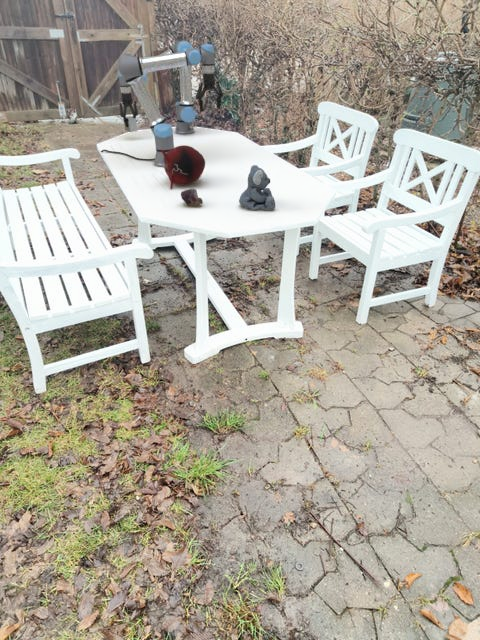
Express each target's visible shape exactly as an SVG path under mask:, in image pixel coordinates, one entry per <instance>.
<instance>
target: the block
mask: <svg viewBox="0 0 480 640" xmlns="http://www.w3.org/2000/svg"><path fill="white" fill-rule="evenodd" d="M126 118H127V124H128V127H125V122H124V121H123V124H124V125H123V126H124V130H125V131H126V132H129V133H134V132H135V133H136V132H138V125H137V117H136V118H134V117H132V115H130V116H126Z"/></svg>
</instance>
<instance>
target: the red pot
mask: <svg viewBox="0 0 480 640" xmlns="http://www.w3.org/2000/svg"><path fill="white" fill-rule="evenodd" d="M161 152H162V153H163V155H164V161H165V165H164V167H163V168H164V172H165V174H166V176H167V177H168V180H169V182H170V186H169V187H170V189H171V190H172V188H173V186H174V185H177V186H178V185H180V186H188V185H192V184H194V183H196V182H197V181H198V180H199V179H200V178H201V176H202V175H203V172H204V170H205V168H206V160H205V158H204V156H203V155H202V153H201V152H200V151H198V150H197V149H196V148H194V147H193V146H190V145H178V146H174V148H173V149H172V150H170V151H168V152H167V154H166V153H165V152H164V151H163V150H162V149H161Z"/></svg>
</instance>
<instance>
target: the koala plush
mask: <svg viewBox="0 0 480 640" xmlns="http://www.w3.org/2000/svg"><path fill="white" fill-rule="evenodd" d="M270 183H271V178H269V176H268V175H267V173H266V172H265V170H264V169H263V168H261V167H259V165H257V164H253V165H250V170H249V173H248V176H247V188H246V189H245V190H244V191H243V192H242V193H241V194H240V197H239V199H238V203H239V204H240V206H241V207H242V208H246V209H247V210H252V211H255V210H261V211H272V210H274V209H275V208H276V200H275V198H274V196H273V194H272V191H271V188H270V187H268V186H269V185H270Z"/></svg>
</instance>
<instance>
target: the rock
mask: <svg viewBox="0 0 480 640" xmlns="http://www.w3.org/2000/svg"><path fill="white" fill-rule="evenodd" d="M180 197H181V200H182V201H183V202H184V203H185V205H187V206H189V207H191V206H192V207H193V206H201V205H203V204H204V202H203V199H202V197H199V195H198V190H197V189H196V188H188V189H185V190H181V192H180Z"/></svg>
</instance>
